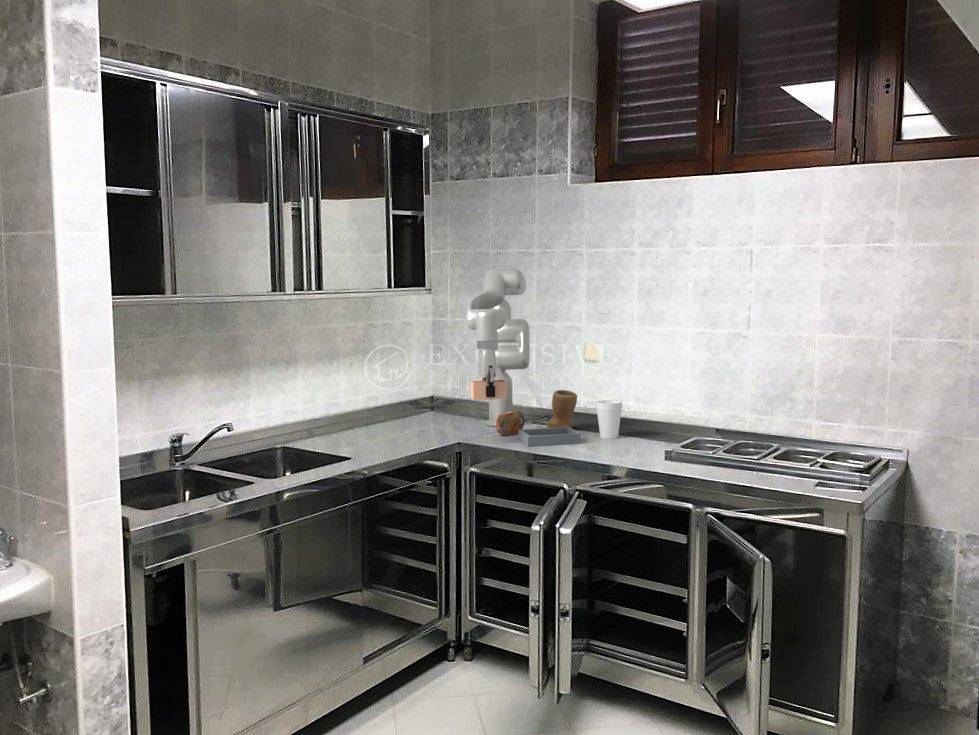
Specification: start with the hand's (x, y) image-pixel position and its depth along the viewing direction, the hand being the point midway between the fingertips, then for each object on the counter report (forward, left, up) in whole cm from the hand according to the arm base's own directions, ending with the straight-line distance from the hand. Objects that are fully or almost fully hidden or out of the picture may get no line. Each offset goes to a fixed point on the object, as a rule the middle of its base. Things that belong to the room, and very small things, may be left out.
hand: (488, 395), depth 309 cm
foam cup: (+3, +44, -17) cm, 47 cm away
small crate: (0, 0, -1) cm, 1 cm away
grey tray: (+4, +21, -17) cm, 27 cm away
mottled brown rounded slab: (-15, +11, -17) cm, 25 cm away
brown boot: (-19, +33, -17) cm, 42 cm away
